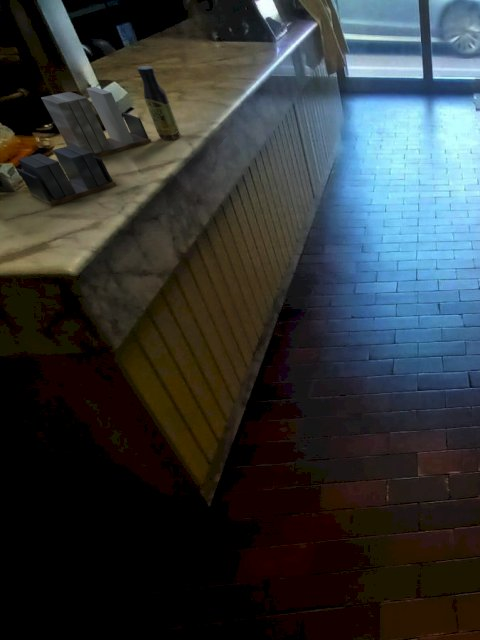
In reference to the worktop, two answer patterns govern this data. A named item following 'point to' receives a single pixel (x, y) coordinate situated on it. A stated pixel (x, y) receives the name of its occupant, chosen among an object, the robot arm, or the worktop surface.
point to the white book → (110, 115)
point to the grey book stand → (89, 125)
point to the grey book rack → (53, 183)
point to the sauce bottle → (158, 105)
